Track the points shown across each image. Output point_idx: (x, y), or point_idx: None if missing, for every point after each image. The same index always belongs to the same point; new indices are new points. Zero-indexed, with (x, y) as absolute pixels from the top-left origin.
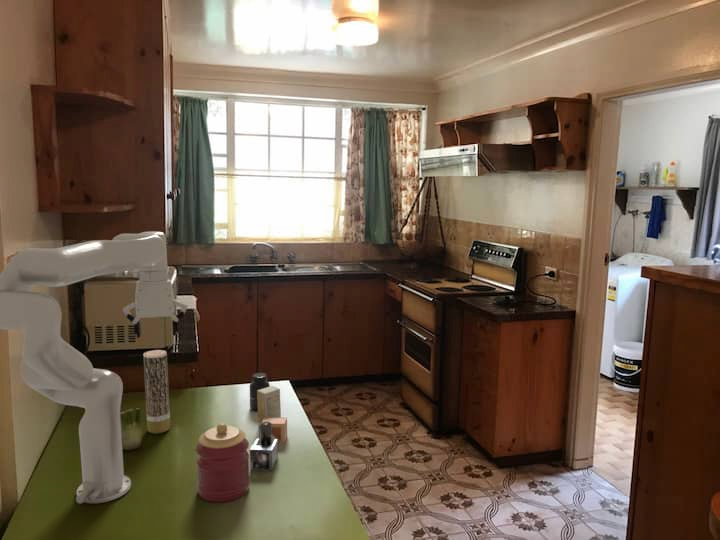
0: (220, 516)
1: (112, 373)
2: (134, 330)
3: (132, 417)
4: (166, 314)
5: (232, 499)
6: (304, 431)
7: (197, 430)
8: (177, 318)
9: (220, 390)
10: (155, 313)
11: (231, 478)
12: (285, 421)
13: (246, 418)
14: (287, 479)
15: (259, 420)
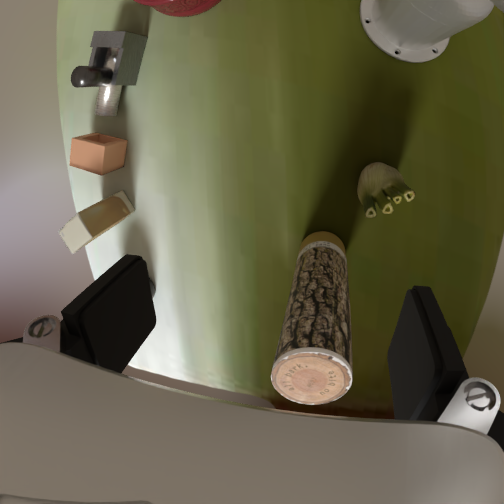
0: None
1: None
2: (455, 342)
3: (382, 196)
4: (30, 359)
5: None
6: (72, 171)
7: (244, 224)
8: (27, 332)
9: (213, 374)
10: (162, 441)
11: None
12: (71, 148)
13: (157, 250)
14: (102, 13)
15: (126, 210)
